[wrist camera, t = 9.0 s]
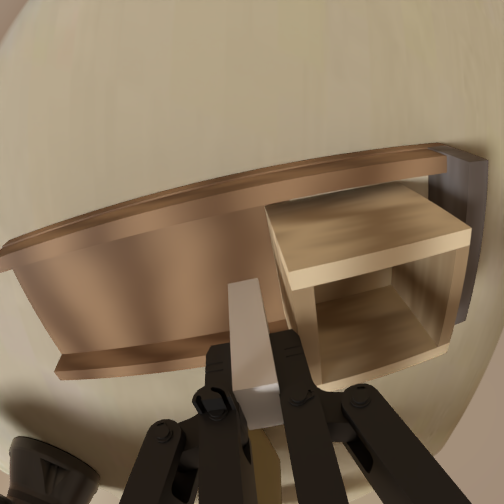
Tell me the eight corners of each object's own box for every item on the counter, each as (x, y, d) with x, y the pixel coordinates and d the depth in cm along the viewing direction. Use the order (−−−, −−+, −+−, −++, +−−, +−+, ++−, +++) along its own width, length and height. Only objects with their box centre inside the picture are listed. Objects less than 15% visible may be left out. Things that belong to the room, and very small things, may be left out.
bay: (72, 355, 23) (53, 399, 18) (9, 240, 18) (-30, 275, 13) (431, 282, 22) (465, 320, 18) (437, 142, 17) (488, 160, 13)
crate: (284, 313, 21) (306, 397, 14) (264, 206, 17) (288, 272, 11) (395, 285, 20) (446, 352, 14) (396, 181, 17) (471, 228, 11)
